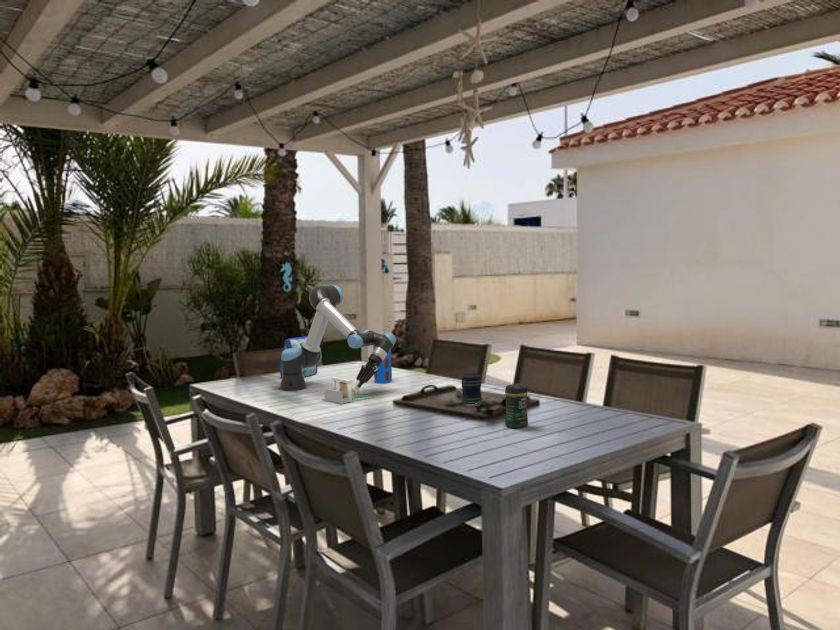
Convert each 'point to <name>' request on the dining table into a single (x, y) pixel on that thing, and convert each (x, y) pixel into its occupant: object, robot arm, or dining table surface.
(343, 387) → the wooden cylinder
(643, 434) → the dining table surface
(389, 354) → the thermos
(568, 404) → the dining table surface
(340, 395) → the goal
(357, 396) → the pitch
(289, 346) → the lunch bag
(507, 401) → the coffee jar
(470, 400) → the storage jar
